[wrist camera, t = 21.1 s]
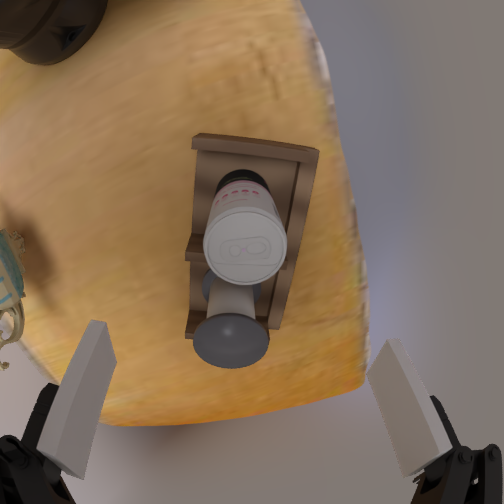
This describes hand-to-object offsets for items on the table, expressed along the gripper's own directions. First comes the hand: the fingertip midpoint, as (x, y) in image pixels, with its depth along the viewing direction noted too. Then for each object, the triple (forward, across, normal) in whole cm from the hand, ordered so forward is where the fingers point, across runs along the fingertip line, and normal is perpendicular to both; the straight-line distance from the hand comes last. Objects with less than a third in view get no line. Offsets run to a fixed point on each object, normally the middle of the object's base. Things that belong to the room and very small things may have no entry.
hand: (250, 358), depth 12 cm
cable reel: (+26, 0, -14) cm, 29 cm away
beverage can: (+26, 0, 0) cm, 26 cm away
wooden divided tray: (+26, +1, -7) cm, 27 cm away
